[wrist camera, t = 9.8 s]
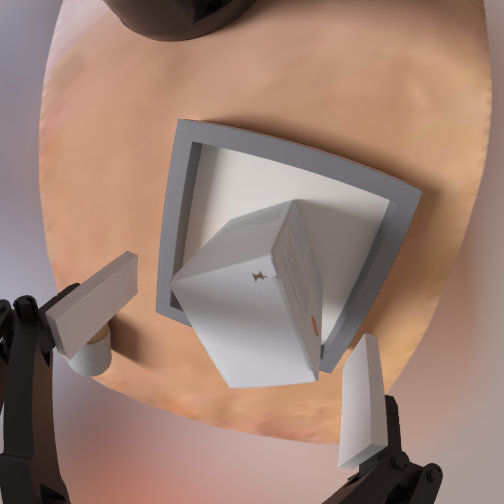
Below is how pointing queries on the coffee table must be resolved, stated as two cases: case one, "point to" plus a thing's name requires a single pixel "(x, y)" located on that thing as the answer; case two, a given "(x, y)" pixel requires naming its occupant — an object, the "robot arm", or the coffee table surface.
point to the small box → (256, 299)
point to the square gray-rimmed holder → (309, 207)
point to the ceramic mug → (94, 354)
